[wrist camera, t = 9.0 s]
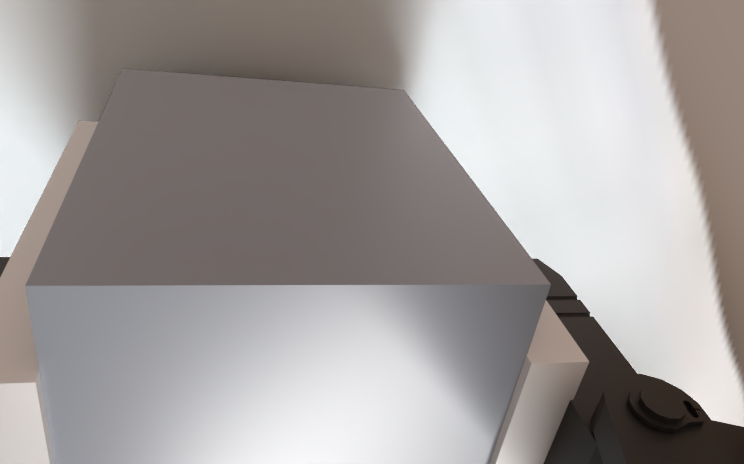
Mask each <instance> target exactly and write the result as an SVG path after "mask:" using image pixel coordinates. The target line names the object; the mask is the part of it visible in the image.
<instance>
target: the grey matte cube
mask: <svg viewBox="0 0 744 464" xmlns="http://www.w3.org/2000/svg"><path fill="white" fill-rule="evenodd" d="M550 286H551V284H550V282H549V281H548V280H547V278H546V277H545V276H544V274H543V273H542V272H541V270H540V269H539V268H538V266H537V265H536V264H535V262H534V261H533V260H532V259H531V257H530V256H529V255H528V253H527V252H526V251H525V249H524V248H523V247H522V245H521V244H520V243H519V241H518V240H517V239H516V237H515V236H514V235H513V233H512V232H511V231H510V229H509V228H508V227H507V226H506V224H505V223H504V222H503V220H502V219H501V218H500V216H499V215H498V214H497V212H496V211H495V210H494V208H493V207H492V206H491V204H490V203H489V202H488V200H487V199H486V198H485V196H484V195H483V194H482V193H481V191H480V190H479V189H478V187H477V186H476V185H475V183H474V182H473V181H472V179H471V178H470V177H469V175H468V174H467V173H466V171H465V170H464V169H463V167H462V166H461V165H460V163H459V162H458V161H457V159H456V158H455V157H454V156H453V154H452V153H451V152H450V150H449V149H448V148H447V146H446V145H445V144H444V142H443V141H442V140H441V138H440V137H439V136H438V134H437V133H436V132H435V130H434V129H433V128H432V126H431V125H430V124H429V123H428V121H427V120H426V119H425V117H424V116H423V115H422V113H421V112H420V111H419V109H418V108H417V107H416V105H415V104H414V103H413V101H412V100H411V99H410V97H409V96H408V95H407V93H406V92H405V91H404V90H398V89H384V88H371V87H358V86H345V85H332V84H319V83H306V82H293V81H280V80H267V79H254V78H240V77H227V76H214V75H201V74H188V73H175V72H162V71H149V70H136V69H123V68H122V70H121V73H120V75H119V77H118V79H117V82H116V84H115V86H114V88H113V91H112V93H111V95H110V97H109V99H108V102H107V104H106V106H105V108H104V111H103V113H102V115H101V117H100V120H99V122H98V124H97V126H96V129H95V131H94V133H93V135H92V137H91V140H90V142H89V144H88V146H87V149H86V151H85V153H84V155H83V158H82V160H81V162H80V164H79V167H78V169H77V171H76V173H75V175H74V178H73V180H72V182H71V184H70V187H69V189H68V191H67V193H66V196H65V198H64V200H63V202H62V205H61V207H60V209H59V211H58V213H57V216H56V218H55V220H54V222H53V225H52V227H51V229H50V231H49V234H48V236H47V238H46V240H45V243H44V245H43V247H42V249H41V252H40V254H39V256H38V258H37V260H36V263H35V265H34V267H33V269H32V272H31V274H30V276H29V278H28V281H27V283H26V285H25V288H26V295H27V301H28V307H29V313H30V319H31V326H32V332H33V338H34V344H35V350H36V357H37V363H38V369H39V373H40V379H41V385H42V391H43V397H44V404H45V410H46V416H47V422H48V428H49V434H50V440H51V447H52V453H53V459H54V464H489V463H490V460H491V457H492V454H493V452H494V449H495V446H496V443H497V440H498V437H499V434H500V431H501V428H502V425H503V422H504V419H505V416H506V413H507V410H508V407H509V404H510V402H511V399H512V396H513V393H514V390H515V387H516V384H517V381H518V378H519V375H520V372H521V369H522V366H523V363H524V360H525V357H526V355H527V354H528V351H529V348H530V345H531V342H532V339H533V336H534V333H535V330H536V327H537V324H538V321H539V318H540V316H541V313H542V310H543V307H544V304H545V301H546V298H547V295H548V292H549V289H550Z"/></svg>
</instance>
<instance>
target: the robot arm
mask: <svg viewBox="0 0 744 464" xmlns="http://www.w3.org/2000/svg"><path fill="white" fill-rule="evenodd" d="M97 124H98V122H94V121H78V123H77V125H76V127H75V129H74V131H73V133H72V135H71V137H70V139H69V141H68V143H67V145H66V147H65V149H64V151H63V153H62V155H61V157H60V159H59V161H58V163H57V165H56V167H55V169H54V171H53V173H52V175H51V177H50V179H49V181H48V183H47V185H46V187H45V189H44V191H43V193H42V195H41V197H40V199H39V201H38V203H37V205H36V207H35V209H34V211H33V213H32V215H31V217H30V219H29V221H28V223H27V225H26V227H25V229H24V231H23V233H22V235H21V237H20V239H19V241H18V243H17V245H16V247H15V249H14V251H13V253H12V255H11V257H0V464H54V459H53V453H52V447H51V440H50V434H49V428H48V422H47V416H46V410H45V404H44V397H43V391H42V385H41V379H40V373H39V369H38V363H37V357H36V350H35V344H34V338H33V332H32V326H31V319H30V313H29V307H28V301H27V295H26V288H25V285H26V283H27V281H28V278H29V276H30V274H31V272H32V269H33V267H34V265H35V263H36V260H37V258H38V256H39V254H40V252H41V249H42V247H43V245H44V243H45V240H46V238H47V236H48V234H49V231H50V229H51V227H52V225H53V222H54V220H55V218H56V216H57V213H58V211H59V209H60V207H61V205H62V202H63V200H64V198H65V196H66V193H67V191H68V189H69V187H70V184H71V182H72V180H73V178H74V175H75V173H76V171H77V169H78V167H79V164H80V162H81V160H82V158H83V155H84V153H85V151H86V149H87V146H88V144H89V142H90V140H91V137H92V135H93V133H94V131H95V129H96V126H97ZM532 260H533V261H534V262H535V264H536V265H537V266H538V268H539V269H540V270H541V272H542V273H543V274H544V276H545V277H546V278H547V280H548V281H549V282H550V284H551V286H550V289H549V292H548V295H547V298H546V301H545V304H544V307H543V310H542V313H541V316H540V318H539V321H538V324H537V327H536V330H535V333H534V336H533V339H532V342H531V345H530V348H529V351H528V354H527V355H526V357H525V360H524V363H523V366H522V369H521V372H520V375H519V378H518V381H517V384H516V387H515V390H514V393H513V396H512V399H511V402H510V404H509V407H508V410H507V413H506V416H505V419H504V422H503V425H502V428H501V431H500V434H499V437H498V440H497V443H496V446H495V449H494V452H493V454H492V457H491V460H490V463H489V464H744V427H741V426H736V425H731V424H726V423H722V422H717V421H712V420H711V419H710V418H709V417H708V415H707V414H706V413H705V411H704V410H703V409H702V407H701V406H700V405H699V404H698V403H697V402H696V401H695V400H693V399H692V398H691V397H690V396H688V395H687V394H686V393H685V392H683V391H682V390H681V389H679V388H677V387H675V386H673V385H671V384H669V383H667V382H665V381H663V380H661V379H657V378H654V377H650V376H646V375H643V374H637V373H636V372H635V370H634V369H633V368H632V366H631V365H630V364H629V363H628V361H627V360H626V359H625V357H624V356H623V355H622V354H621V352H620V351H619V350H618V348H617V347H616V346H615V344H614V343H613V342H612V341H611V339H610V338H609V337H608V335H607V334H606V333H605V332H604V330H603V329H602V328H601V326H600V325H599V324H598V322H597V321H596V320H595V319H594V317H590V312H589V311H588V310H587V308H586V307H585V306H584V304H583V303H582V302H581V301H580V300H577V295H576V294H575V293H574V291H573V290H572V289H571V288H570V286H569V285H568V284H567V282H566V281H565V280H564V279H563V277H562V276H561V275H559V274H558V273H557V272H555V271H554V270H552V269H551V268H550V267H548V266H547V265H545V264H544V263H543V262H541V261H540V260H539V259H532Z"/></svg>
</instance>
